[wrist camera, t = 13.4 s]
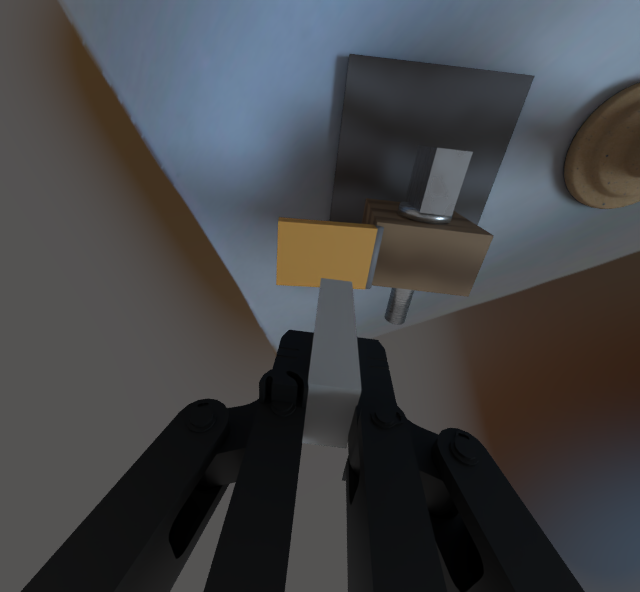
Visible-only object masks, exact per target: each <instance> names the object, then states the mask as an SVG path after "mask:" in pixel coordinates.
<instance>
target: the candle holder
mask: <svg viewBox="0 0 640 592" xmlns="http://www.w3.org/2000/svg"><path fill="white" fill-rule="evenodd" d="M564 177H565V183H566V186H567V188H568V190H569V192H570V193H571V195H572V196H573V197H574V198H575V199H576V200H577V201H579V202H581V203H582V204H584V205H587V206H590V207H593V208H600V209H612V208H619V207H624V206H627V205H631V204H634V203H636V202H639V201H640V83H637V84H634V85H632V86H630V87H628V88H626V89H624V90H622V91H620V92H618V93H617V94H615V95H614V96H612V97H611V98H609V99H608V100H607V101H606V102H604V103H603V104H602V105H601V106H599V107H598V108H597V109H596V110H595V111H594V112H593V113H592V114H591V115H590V116H589V118H588V119H587V120H586V121H585V122H584V124H583V125H582V126H581V128H580V129H579V131H578V132H577V134H576V135H575V137H574V139H573V141H572V143H571V145H570V147H569V150H568V153H567V156H566V161H565V167H564Z"/></svg>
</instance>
